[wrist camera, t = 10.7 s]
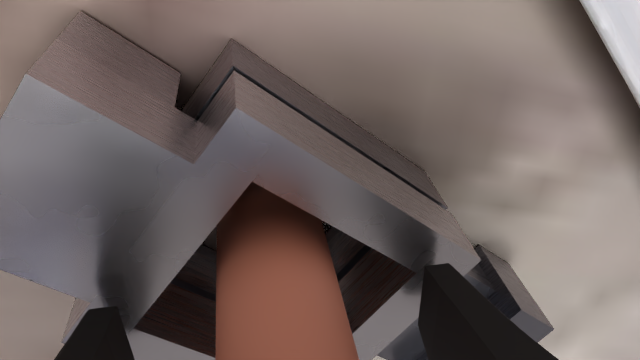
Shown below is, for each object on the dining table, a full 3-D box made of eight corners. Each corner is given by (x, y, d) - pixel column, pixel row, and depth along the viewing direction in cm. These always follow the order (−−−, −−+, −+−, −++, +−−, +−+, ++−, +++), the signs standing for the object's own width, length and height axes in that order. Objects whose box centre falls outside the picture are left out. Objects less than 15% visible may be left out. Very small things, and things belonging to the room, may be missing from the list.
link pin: (311, 231, 17) (368, 470, 11) (220, 238, 17) (220, 492, 10) (314, 152, 16) (383, 377, 9) (213, 158, 15) (207, 398, 9)
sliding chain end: (427, 174, 17) (481, 259, 13) (289, 317, 19) (304, 421, 16) (110, -44, 12) (64, 1, 8) (-19, 185, 14) (-94, 292, 11)
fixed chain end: (530, 244, 19) (580, 308, 17) (398, 362, 22) (422, 433, 19) (231, 38, 13) (233, 85, 11) (96, 231, 16) (71, 308, 13)
